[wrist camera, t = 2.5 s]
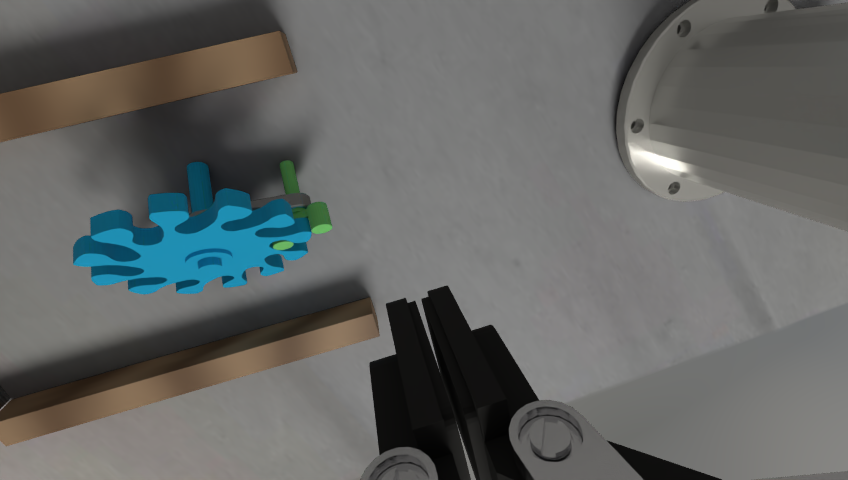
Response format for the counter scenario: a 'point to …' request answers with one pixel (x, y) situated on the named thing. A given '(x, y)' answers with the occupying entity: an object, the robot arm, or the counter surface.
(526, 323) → the counter surface
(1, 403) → the plate with round knob
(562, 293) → the counter surface
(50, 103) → the channel rails
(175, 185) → the counter surface
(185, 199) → the gear
